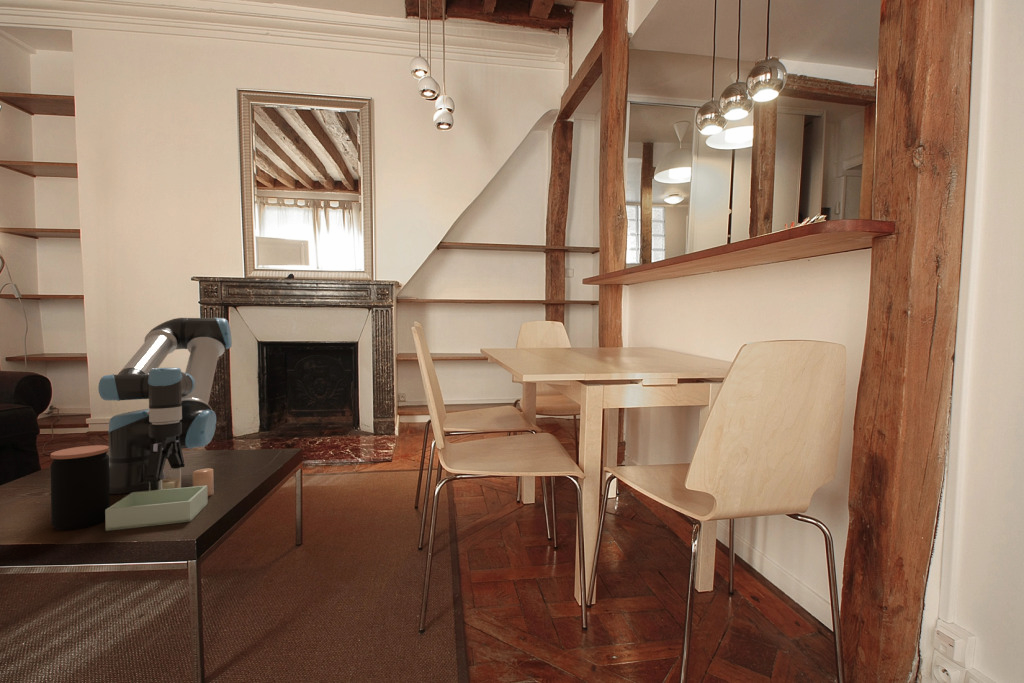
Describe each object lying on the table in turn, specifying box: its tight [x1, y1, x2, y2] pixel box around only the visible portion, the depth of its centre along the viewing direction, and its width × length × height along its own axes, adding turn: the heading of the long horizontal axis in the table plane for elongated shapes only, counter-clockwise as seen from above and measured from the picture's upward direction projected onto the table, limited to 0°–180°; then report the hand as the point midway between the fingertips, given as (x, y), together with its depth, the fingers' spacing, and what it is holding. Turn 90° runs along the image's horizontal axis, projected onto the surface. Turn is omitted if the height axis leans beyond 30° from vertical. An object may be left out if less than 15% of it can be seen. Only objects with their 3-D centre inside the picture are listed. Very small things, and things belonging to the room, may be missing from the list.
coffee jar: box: [50, 444, 111, 531], centre depth 115 cm, size 11×11×18 cm
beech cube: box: [161, 478, 180, 490], centre depth 132 cm, size 5×5×5 cm
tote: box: [104, 486, 209, 532], centre depth 118 cm, size 13×17×5 cm
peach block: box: [192, 467, 215, 497], centre depth 135 cm, size 5×5×7 cm
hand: (166, 497), depth 132 cm, fingers open, 13 cm apart
